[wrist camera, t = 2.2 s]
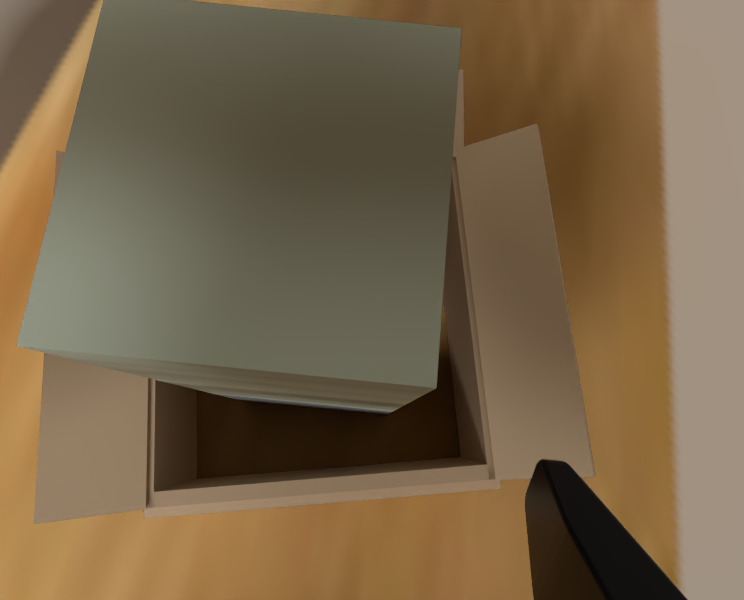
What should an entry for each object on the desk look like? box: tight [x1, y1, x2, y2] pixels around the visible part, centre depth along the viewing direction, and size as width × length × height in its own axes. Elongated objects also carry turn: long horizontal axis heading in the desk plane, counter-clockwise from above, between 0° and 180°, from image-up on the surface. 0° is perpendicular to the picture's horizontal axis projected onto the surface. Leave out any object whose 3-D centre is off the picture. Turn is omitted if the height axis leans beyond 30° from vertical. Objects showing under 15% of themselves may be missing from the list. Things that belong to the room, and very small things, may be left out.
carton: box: [34, 69, 596, 524], centre depth 17 cm, size 12×14×5 cm
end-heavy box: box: [17, 0, 462, 415], centre depth 13 cm, size 5×5×13 cm
